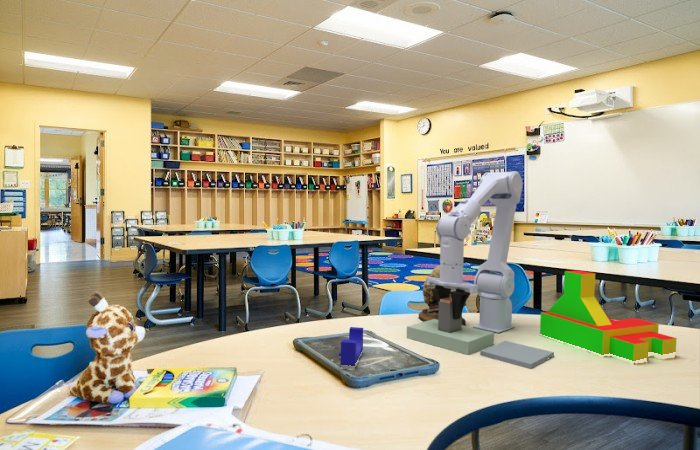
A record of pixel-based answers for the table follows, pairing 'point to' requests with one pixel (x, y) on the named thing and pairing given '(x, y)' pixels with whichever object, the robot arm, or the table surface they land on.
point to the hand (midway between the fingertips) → (450, 317)
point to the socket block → (451, 337)
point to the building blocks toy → (599, 324)
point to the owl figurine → (432, 300)
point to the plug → (448, 317)
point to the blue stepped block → (352, 346)
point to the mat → (517, 354)
